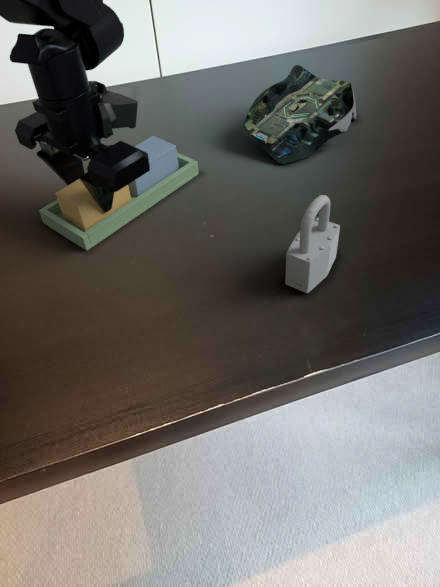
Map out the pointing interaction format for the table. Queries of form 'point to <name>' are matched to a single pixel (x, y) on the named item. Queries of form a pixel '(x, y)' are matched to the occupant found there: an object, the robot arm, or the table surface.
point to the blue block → (155, 164)
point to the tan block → (87, 204)
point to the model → (300, 115)
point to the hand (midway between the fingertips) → (95, 203)
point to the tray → (123, 215)
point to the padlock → (312, 247)
